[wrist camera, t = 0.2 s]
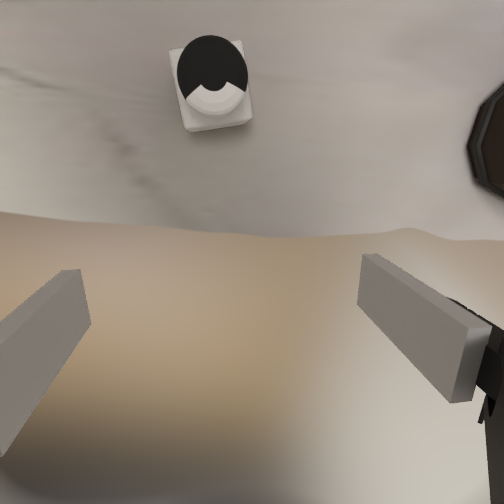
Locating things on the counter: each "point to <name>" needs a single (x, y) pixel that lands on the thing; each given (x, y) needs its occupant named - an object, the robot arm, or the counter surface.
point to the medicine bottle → (211, 83)
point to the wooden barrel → (489, 144)
